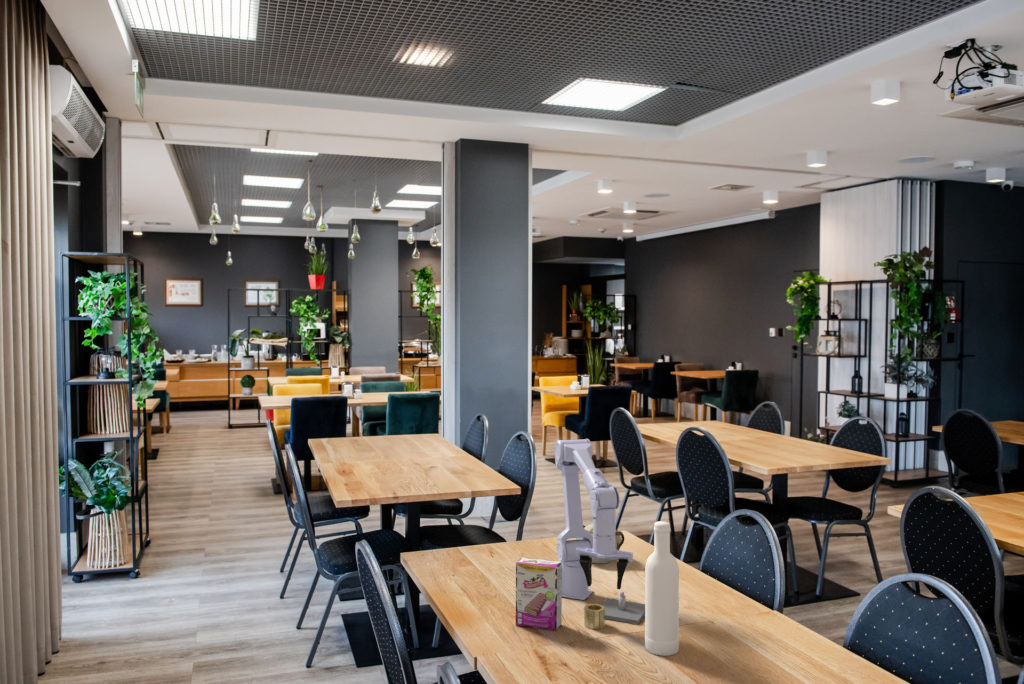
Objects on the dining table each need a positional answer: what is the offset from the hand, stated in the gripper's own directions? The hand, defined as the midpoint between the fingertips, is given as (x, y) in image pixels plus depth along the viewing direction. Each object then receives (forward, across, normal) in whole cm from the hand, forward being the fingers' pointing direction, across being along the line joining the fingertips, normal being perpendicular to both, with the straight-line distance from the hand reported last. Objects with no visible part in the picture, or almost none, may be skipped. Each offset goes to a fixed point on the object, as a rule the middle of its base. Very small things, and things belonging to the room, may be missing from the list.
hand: (604, 586), depth 192 cm
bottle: (+10, +16, -11) cm, 22 cm away
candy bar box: (+10, -16, -6) cm, 20 cm away
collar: (+10, -2, -2) cm, 10 cm away
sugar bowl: (+10, -11, +52) cm, 54 cm away
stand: (+10, +3, +8) cm, 13 cm away
